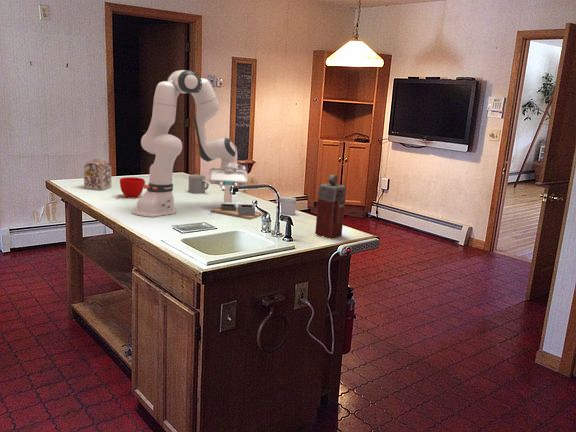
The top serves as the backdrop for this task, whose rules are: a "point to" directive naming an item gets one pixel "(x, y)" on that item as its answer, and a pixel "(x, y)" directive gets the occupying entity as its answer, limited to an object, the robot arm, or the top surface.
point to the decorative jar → (97, 175)
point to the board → (235, 213)
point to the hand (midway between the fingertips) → (228, 190)
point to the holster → (228, 207)
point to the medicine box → (288, 205)
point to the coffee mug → (197, 184)
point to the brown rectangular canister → (330, 209)
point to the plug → (227, 194)
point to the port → (246, 209)
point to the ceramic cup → (132, 186)
